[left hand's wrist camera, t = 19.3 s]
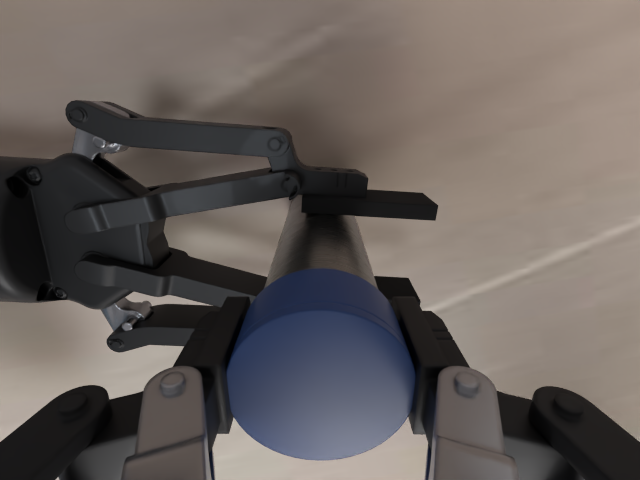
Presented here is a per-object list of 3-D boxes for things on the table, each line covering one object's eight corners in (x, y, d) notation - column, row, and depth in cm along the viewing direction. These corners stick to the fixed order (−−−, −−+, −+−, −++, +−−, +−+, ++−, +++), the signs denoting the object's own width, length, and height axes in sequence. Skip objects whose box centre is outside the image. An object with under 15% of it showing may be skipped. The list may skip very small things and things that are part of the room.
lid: (399, 392, 12) (416, 454, 10) (256, 402, 12) (242, 466, 10) (397, 260, 10) (418, 301, 8) (229, 274, 10) (206, 317, 8)
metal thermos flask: (280, 193, 24) (215, 328, 9) (342, 174, 24) (378, 283, 9) (301, 250, 26) (273, 445, 11) (359, 232, 25) (415, 412, 10)
